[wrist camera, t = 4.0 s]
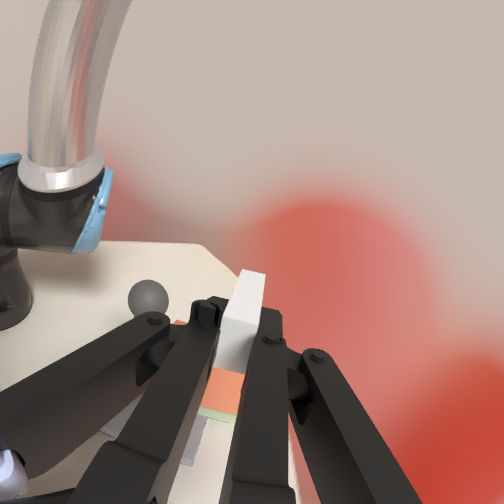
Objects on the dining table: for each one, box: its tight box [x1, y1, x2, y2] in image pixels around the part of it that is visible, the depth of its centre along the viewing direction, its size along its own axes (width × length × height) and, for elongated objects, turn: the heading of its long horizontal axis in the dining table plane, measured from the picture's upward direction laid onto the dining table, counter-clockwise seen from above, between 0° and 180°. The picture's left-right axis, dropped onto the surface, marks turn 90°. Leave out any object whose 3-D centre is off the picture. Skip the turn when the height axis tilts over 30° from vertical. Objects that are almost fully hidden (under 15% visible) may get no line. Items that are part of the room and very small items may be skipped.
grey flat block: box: [100, 394, 237, 466], centre depth 25 cm, size 17×14×2 cm
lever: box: [128, 280, 245, 415], centre depth 23 cm, size 12×4×12 cm, turn 85°
